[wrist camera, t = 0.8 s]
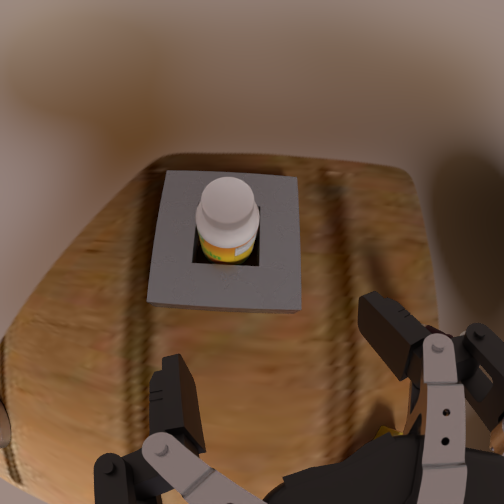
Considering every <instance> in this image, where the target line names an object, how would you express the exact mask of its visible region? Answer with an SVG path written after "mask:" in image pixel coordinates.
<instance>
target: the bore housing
mask: <svg viewBox="0 0 504 504" xmlns="http://www.w3.org/2000/svg"><path fill="white" fill-rule="evenodd" d="M222 177H234V178H238V179H240V180H242V181H244V182H245V183H246V184H247V185H248V186H249V187H250V188H251V190H252V192H253V194H254V201H255V203H256V204H257V207H258V209H259V215H260V220H259V226H258V230H257V263H256V266H239V265H220V264H201V263H196V258H197V247H198V237H199V234H198V230H197V226H196V210H197V207H198V205H199V203H200V201H201V196H202V193H203V191H204V189H205V188H206V186H207V185H208V184H209V183H211V182H212V181H214V180H216V179H218V178H222ZM147 302H148V303H150V304H151V305H153V306H156V307H167V308H180V309H194V310H209V311H228V312H251V313H290V314H294V313H296V312H298V311H300V310H301V257H300V227H299V205H298V187H297V177H289V176H277V175H265V174H251V173H234V172H213V171H171V170H167V173H166V178H165V182H164V187H163V192H162V198H161V203H160V209H159V214H158V220H157V226H156V232H155V239H154V246H153V253H152V260H151V268H150V276H149V285H148V294H147Z"/></svg>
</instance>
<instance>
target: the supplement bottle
mask: <svg viewBox="0 0 504 504" xmlns="http://www.w3.org/2000/svg"><path fill="white" fill-rule="evenodd" d="M259 220H260V215H259V209H258V207H257V204H256V203H255V201H254V194H253V192H252V190H251V188H250V187H249V186H248V185H247V184H246V183H245V182H244V181H242V180H240V179H238V178H234V177H222V178H218V179H216V180H214V181H212V182H211V183H209V184H208V185H207V186H206V188H205V189H204V191H203V193H202V196H201V201H200V203H199V205H198V207H197V210H196V226H197V230H198V234H199V238H200V242H201V247H202V250H203V253H204V255H205V257H206V258H207V259H208V260H209V261H210V262H211V263H212V264H220V265H240V264H242V263H244V262H245V261H246V260H247V259H248V257H249V256H250V254H251V252H252V249H253V246H254V242H255V238H256V234H257V230H258V226H259Z"/></svg>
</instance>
